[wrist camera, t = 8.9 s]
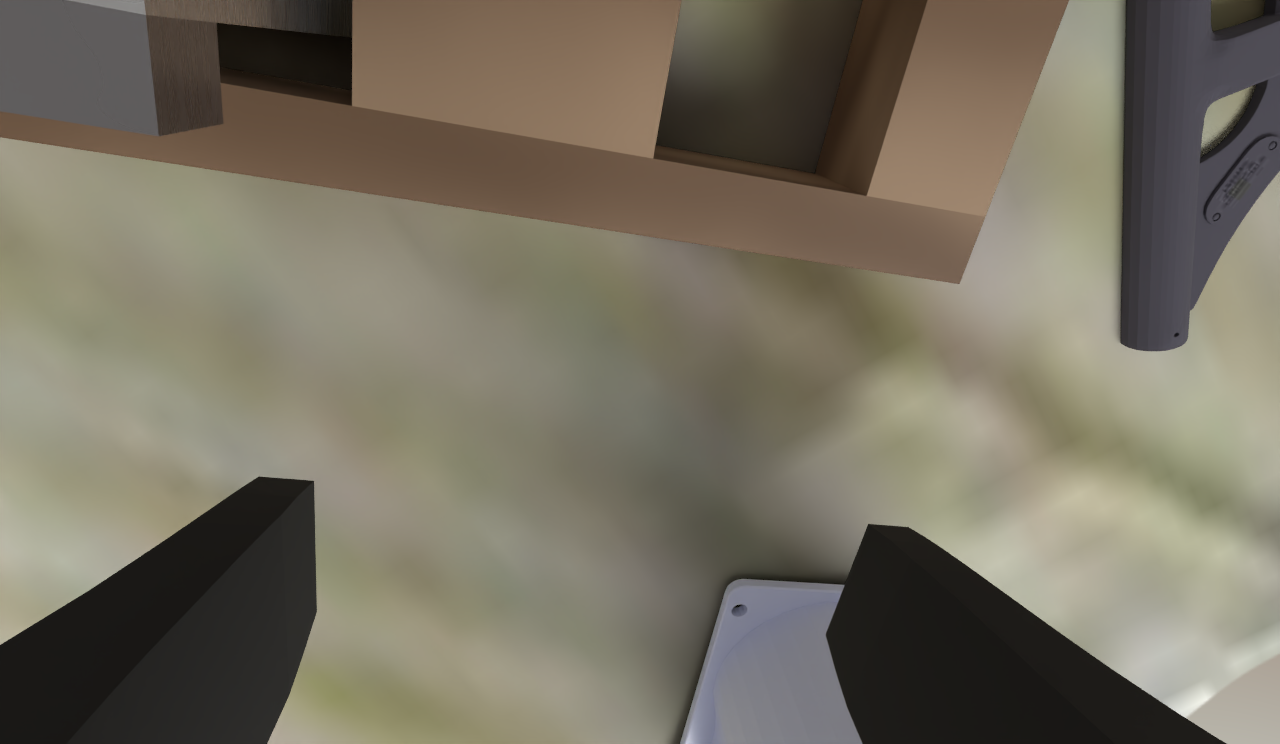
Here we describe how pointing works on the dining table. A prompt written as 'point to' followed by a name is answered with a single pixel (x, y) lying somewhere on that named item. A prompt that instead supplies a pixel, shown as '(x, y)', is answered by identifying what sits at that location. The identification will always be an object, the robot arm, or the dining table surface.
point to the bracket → (1189, 155)
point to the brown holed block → (636, 126)
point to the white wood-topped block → (135, 57)
